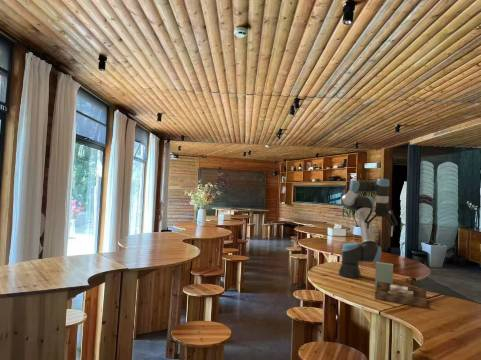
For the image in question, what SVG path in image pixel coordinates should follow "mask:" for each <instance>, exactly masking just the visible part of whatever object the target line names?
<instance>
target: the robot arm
mask: <svg viewBox="0 0 481 360" xmlns="http://www.w3.org/2000/svg"><path fill="white" fill-rule="evenodd" d="M361 193H376V195H375V202H376V203H375V202H374V199H373V198H372V197H371V196H370V195H368V196H367V195H360V194H361ZM389 194H390V179H388V178H377V180H376V181H370V180H368V181H367V180H356V179H355V180H350V183H349V189H348V191H347V193H344V195H343V196H342V197H341V205H342V206H343V207H344V208H345V209H347V210H350V211H356V214H357V215H358V218H359V226H360V232H361V235H360V236H361V242H346V243H343V244H342V248H341V265H340V267H339V269H338V275H339V276H341V277H342V278H349V279H359V278H361V275H362V274H361V270H360V266H359V263H360V262H362V263H363V262H364V263H376V262H380V260H381V257H382V247H381V246H380V245H378V242H376V240H375V235H374V227H373V222H372V221H373V220H375V218H376V217H379V218H380V217H382V218H384V217H385V218H386V219H387V221H389V223H390V225H391V229H390V237H393V232H395V230H396V229H395V228H396V226H398V225H399V223H398V221H397V219H396V217H395V214H394V210H389V199H390V197H389V196H390V195H389ZM374 212H375V214H374V215H373V216H372V214H373V213H374ZM388 214H390V215H391V217H392V219H393V220H392V219H391V217H389V215H388Z"/></svg>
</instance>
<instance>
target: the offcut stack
mask: <svg viewBox="0 0 481 360" xmlns="http://www.w3.org/2000/svg"><path fill="white" fill-rule="evenodd" d="M388 293H394V294H400V295H406V296H412V297H413V291H408V287H404V286H397V285H391V284H390V291H388Z"/></svg>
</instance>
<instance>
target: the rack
mask: <svg viewBox="0 0 481 360" xmlns="http://www.w3.org/2000/svg"><path fill="white" fill-rule="evenodd" d="M390 284H391V285H397V286H404V287H408V291H413V297H412V296H406V295H400V294H394V293H388V291H390ZM374 299H375V300H380V301H385V302H386V301H387V302H391V303H397V304H401V303H402V305H408V306H412V307H418V308H419V307H420V308H425V309H427V307H428V298H427V288H423V287H417V286H416V287H415V286H410V285H404V284H396V283H393V282H392V283H385V282H379V281H377V288H376V290H375V292H374Z"/></svg>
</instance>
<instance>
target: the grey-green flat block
mask: <svg viewBox="0 0 481 360" xmlns="http://www.w3.org/2000/svg"><path fill="white" fill-rule="evenodd" d="M393 277H394V264H393V263H386V262H380V261H379V262H375V278H374V288H375V289H377V281H379V282H385V283H392V284H393V279H394V278H393Z"/></svg>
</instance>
